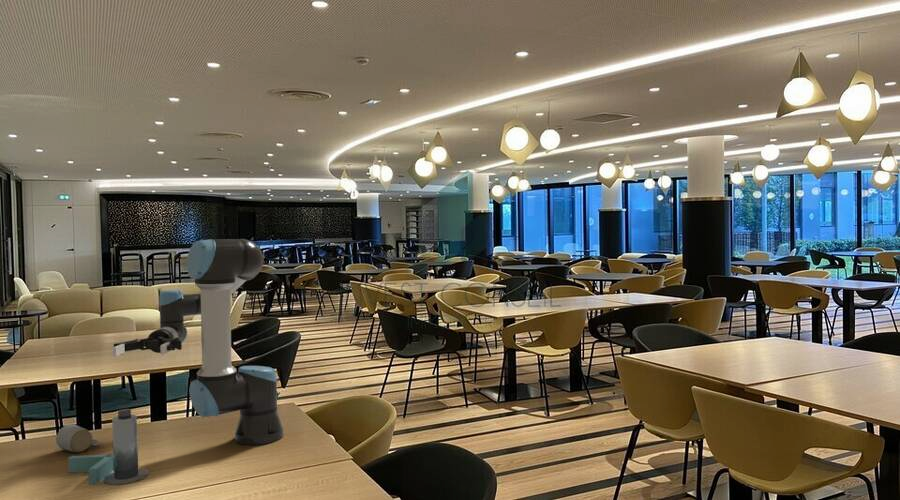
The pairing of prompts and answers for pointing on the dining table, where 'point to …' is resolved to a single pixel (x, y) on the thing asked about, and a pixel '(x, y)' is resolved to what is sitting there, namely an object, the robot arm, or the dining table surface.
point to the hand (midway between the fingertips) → (138, 351)
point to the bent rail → (92, 466)
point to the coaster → (112, 481)
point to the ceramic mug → (75, 438)
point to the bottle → (125, 445)
